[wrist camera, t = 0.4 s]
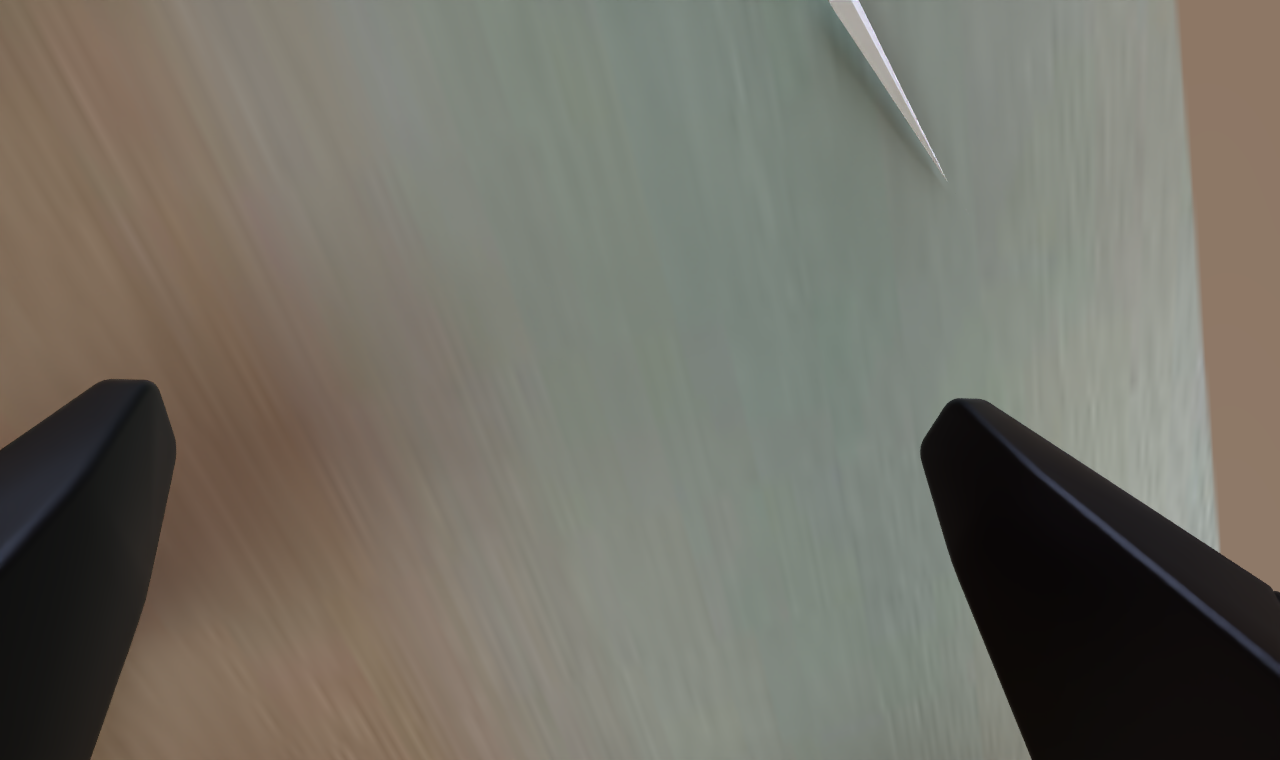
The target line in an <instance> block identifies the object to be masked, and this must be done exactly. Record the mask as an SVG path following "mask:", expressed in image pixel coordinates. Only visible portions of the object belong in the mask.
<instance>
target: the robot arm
mask: <svg viewBox="0 0 1280 760" xmlns="http://www.w3.org/2000/svg"><path fill="white" fill-rule="evenodd" d="M920 455H921V461H922V465H923V468H924V471H925V475H926V478H927V481H928V485H929V488H930V492H931V495H932V498H933V502H934V505H935V508H936V512H937V515H938V519H939V522H940V525H941V529H942V532H943V536H944V539H945V542H946V546H947V549H948V552H949V555H950V558H951V561H952V564H953V567H954V569H955V572H956V574H957V577H958V580H959V582H960V585H961V587H962V590H963V592H964V594H965V597H966V599H967V602H968V604H969V607H970V609H971V612H972V614H973V617H974V619H975V621H976V624H977V626H978V629H979V631H980V634H981V636H982V639H983V641H984V643H985V646H986V648H987V651H988V653H989V656H990V658H991V661H992V663H993V666H994V668H995V670H996V673H997V675H998V678H999V680H1000V683H1001V685H1002V688H1003V690H1004V692H1005V695H1006V697H1007V700H1008V702H1009V705H1010V707H1011V710H1012V712H1013V715H1014V717H1015V719H1016V722H1017V724H1018V727H1019V729H1020V732H1021V734H1022V737H1023V739H1024V741H1025V744H1026V746H1027V749H1028V751H1029V754H1030V756H1031V759H1032V760H1280V592H1277V591H1273V590H1272V588H1271V587H1270V586H1269V585H1267V584H1266V583H1264V582H1263V581H1261V580H1260V579H1258V578H1257V577H1255V576H1253V575H1252V574H1251V573H1249V572H1247V571H1246V570H1244V569H1243V568H1241V567H1240V566H1238V565H1237V564H1235V563H1234V562H1232V561H1231V560H1229V559H1227V558H1226V557H1225V556H1223V555H1221V554H1220V553H1218V552H1217V551H1215V550H1214V549H1212V548H1211V547H1209V546H1208V545H1206V544H1205V543H1203V542H1202V541H1200V540H1199V539H1197V538H1196V537H1194V536H1192V535H1191V534H1189V533H1188V532H1186V531H1185V530H1183V529H1182V528H1180V527H1179V526H1177V525H1176V524H1174V523H1173V522H1171V521H1170V520H1168V519H1166V518H1165V517H1163V516H1162V515H1160V514H1159V513H1157V512H1156V511H1154V510H1153V509H1151V508H1150V507H1148V506H1147V505H1145V504H1144V503H1142V502H1141V501H1139V500H1137V499H1136V498H1134V497H1133V496H1131V495H1130V494H1128V493H1127V492H1125V491H1124V490H1122V489H1121V488H1119V487H1118V486H1116V485H1115V484H1113V483H1111V482H1110V481H1108V480H1107V479H1105V478H1104V477H1102V476H1101V475H1099V474H1098V473H1096V472H1095V471H1093V470H1092V469H1090V468H1089V467H1087V466H1085V465H1084V464H1082V463H1081V462H1079V461H1078V460H1076V459H1075V458H1073V457H1072V456H1070V455H1069V454H1067V453H1066V452H1064V451H1063V450H1061V449H1060V448H1058V447H1056V446H1055V445H1053V444H1052V443H1050V442H1049V441H1047V440H1046V439H1044V438H1043V437H1041V436H1040V435H1038V434H1037V433H1035V432H1034V431H1032V430H1030V429H1029V428H1027V427H1026V426H1024V425H1023V424H1021V423H1020V422H1018V421H1017V420H1015V419H1014V418H1012V417H1011V416H1009V415H1008V414H1006V413H1004V412H1003V411H1001V410H1000V409H998V408H997V407H995V406H994V405H992V404H991V403H989V402H987V401H985V400H982V399H966V398H957V399H953V400H952V401H950V402H948V403H947V404H946V406H945V407H944V408H943V410H942V412H941V413H940V415H939V416H938V418H937V419H936V421H935V422H934V424H933V425H932V427H931V428H930V430H929V431H928V433H927V435H926V436H925V438H924V439H923V441H922V444H921V450H920ZM175 460H176V441H175V437H174V433H173V430H172V427H171V424H170V421H169V418H168V415H167V412H166V409H165V406H164V403H163V400H162V397H161V394H160V391H159V389H158V387H157V386H156V385H155V384H154V383H153V382H151V381H148V380H126V379H109V380H103V381H101V382H99V383H97V384H95V385H94V386H92V387H91V388H89V389H88V390H86V391H85V392H83V393H82V394H81V395H79V396H78V397H76V398H75V399H73V400H72V401H70V402H69V403H68V404H66V405H65V406H63V407H62V408H60V409H59V410H58V411H56V412H55V413H53V414H52V415H50V416H49V417H47V418H46V419H45V420H43V421H42V422H40V423H39V424H37V425H36V426H34V427H33V428H32V429H30V430H29V431H27V432H26V433H24V434H23V435H21V436H20V437H19V438H17V439H16V440H14V441H13V442H11V443H10V444H9V445H7V446H6V447H4V448H3V449H1V450H0V760H90V759H91V756H92V753H93V750H94V748H95V745H96V742H97V739H98V736H99V733H100V730H101V728H102V725H103V722H104V719H105V716H106V713H107V710H108V708H109V705H110V702H111V699H112V696H113V693H114V691H115V688H116V685H117V682H118V679H119V676H120V673H121V671H122V668H123V665H124V662H125V659H126V656H127V654H128V651H129V648H130V645H131V642H132V639H133V636H134V634H135V631H136V628H137V625H138V622H139V619H140V616H141V612H142V609H143V606H144V603H145V600H146V595H147V591H148V587H149V583H150V579H151V574H152V569H153V565H154V560H155V555H156V551H157V546H158V541H159V536H160V532H161V527H162V522H163V517H164V513H165V508H166V503H167V498H168V494H169V489H170V484H171V479H172V475H173V470H174V465H175Z"/></svg>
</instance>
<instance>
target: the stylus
mask: <svg viewBox="0 0 1280 760" xmlns="http://www.w3.org/2000/svg"><path fill="white" fill-rule="evenodd" d="M828 1H829V3H830V4H831V6H832V8H833V9H834V11H835V12H836V14H837V15H838V17H839V19H840V20H841V22H842V23H843V25H844V26H845V28H846V29H847V31H848V32H849V34H850V35H851V37H852V38H853V40H854V41H855V43H856V44H857V46H858V47H859V49H860V50H861V52H862V53H863V55H864V56H865V58H866V59H867V61H868V62H869V64H870V65H871V67H872V68H873V70H874V72H875V73H876V75H877V76H878V78H879V79H880V81H881V82H882V84H883V85H884V87H885V88H886V90H887V91H888V93H889V94H890V96H891V97H892V99H893V100H894V102H895V103H896V105H897V106H898V108H899V109H900V111H901V112H902V114H903V115H904V117H905V118H906V120H907V121H908V123H909V125H910V126H911V128H912V129H913V131H914V132H915V134H916V135H917V137H918V138H919V140H920V141H921V143H922V144H923V146H924V147H925V149H926V150H927V152H928V153H929V155H930V156H931V158H932V159H933V161H934V162H935V164H936V165H937V167H938V168H939V170H940V171H941V173H942V175H943V176H944V177H945V175H944V173H943V171H942V168H941V167H940V165H939V163H938V161H937V159H936V157H935V155H934V153H933V151H932V149H931V147H930V145H929V143H928V141H927V139H926V137H925V134H924V132H923V130H922V128H921V126H920V124H919V122H918V120H917V118H916V116H915V114H914V112H913V110H912V108H911V106H910V104H909V102H908V100H907V98H906V96H905V94H904V92H903V90H902V88H901V86H900V84H899V81H898V79H897V77H896V75H895V73H894V71H893V69H892V67H891V65H890V63H889V61H888V59H887V57H886V55H885V53H884V51H883V49H882V47H881V45H880V43H879V41H878V39H877V37H876V35H875V33H874V31H873V28H872V26H871V24H870V22H869V20H868V18H867V16H866V14H865V12H864V10H863V8H862V6H861V4H860V2H859V0H828ZM945 179H946V177H945ZM946 180H947V179H946ZM947 182H948V181H947ZM955 194H956V193H955Z"/></svg>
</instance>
